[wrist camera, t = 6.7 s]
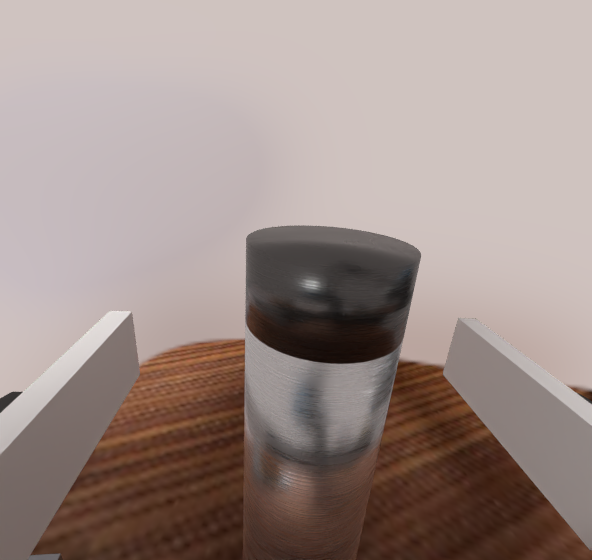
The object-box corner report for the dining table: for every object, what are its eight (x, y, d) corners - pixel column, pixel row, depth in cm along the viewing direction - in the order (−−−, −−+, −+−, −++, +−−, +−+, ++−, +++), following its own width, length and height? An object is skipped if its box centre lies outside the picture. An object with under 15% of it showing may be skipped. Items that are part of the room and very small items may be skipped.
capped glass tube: (338, 500, 14) (383, 229, 9) (365, 629, 10) (460, 272, 6) (246, 504, 13) (250, 222, 9) (237, 640, 9) (238, 264, 5)
